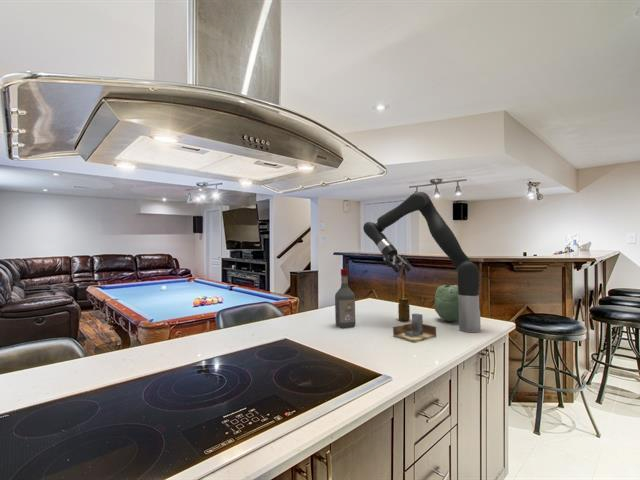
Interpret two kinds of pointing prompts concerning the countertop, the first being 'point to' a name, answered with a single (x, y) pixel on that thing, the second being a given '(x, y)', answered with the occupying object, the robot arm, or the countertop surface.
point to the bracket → (416, 326)
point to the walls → (408, 327)
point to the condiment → (404, 310)
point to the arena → (416, 338)
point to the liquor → (345, 303)
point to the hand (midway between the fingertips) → (403, 271)
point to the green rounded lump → (447, 302)
